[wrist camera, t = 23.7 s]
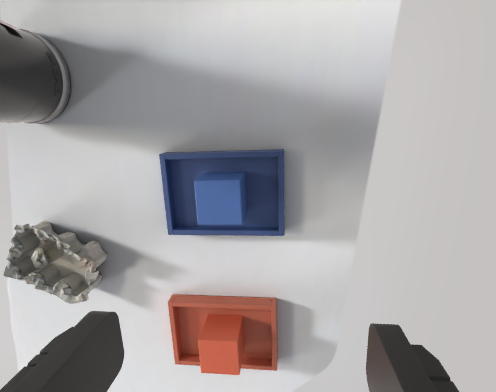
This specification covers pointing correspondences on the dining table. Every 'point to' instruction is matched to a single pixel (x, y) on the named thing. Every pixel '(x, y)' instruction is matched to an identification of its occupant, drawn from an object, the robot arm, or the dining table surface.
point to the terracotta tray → (251, 308)
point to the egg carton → (55, 262)
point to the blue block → (221, 198)
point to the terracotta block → (221, 344)
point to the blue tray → (250, 161)
